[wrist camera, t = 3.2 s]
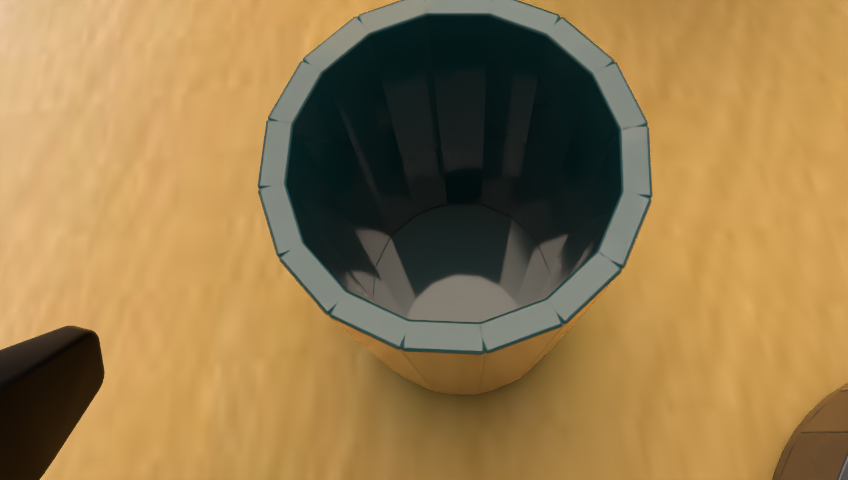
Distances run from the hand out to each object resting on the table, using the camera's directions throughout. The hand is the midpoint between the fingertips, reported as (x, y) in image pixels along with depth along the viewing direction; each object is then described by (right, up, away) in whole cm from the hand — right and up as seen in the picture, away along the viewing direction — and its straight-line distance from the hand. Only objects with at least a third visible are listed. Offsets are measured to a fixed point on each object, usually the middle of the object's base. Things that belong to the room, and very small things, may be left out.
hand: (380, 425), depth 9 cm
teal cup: (+2, +1, +11) cm, 12 cm away
